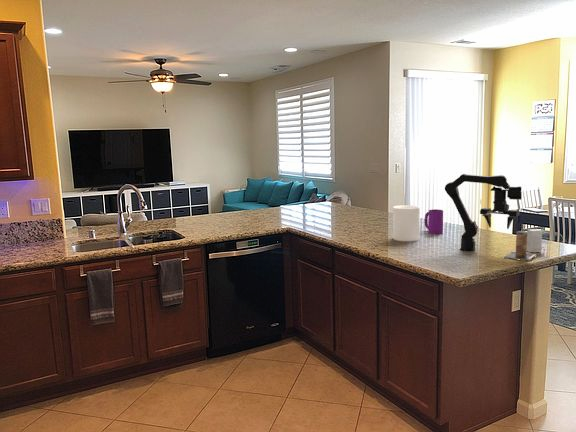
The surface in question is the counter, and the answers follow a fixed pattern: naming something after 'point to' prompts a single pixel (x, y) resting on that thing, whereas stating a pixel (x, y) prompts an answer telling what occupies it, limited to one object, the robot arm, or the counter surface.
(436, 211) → the mug
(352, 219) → the counter surface
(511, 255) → the slate mat
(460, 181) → the robot arm
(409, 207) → the canister
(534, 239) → the skincare box
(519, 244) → the brown cylinder
